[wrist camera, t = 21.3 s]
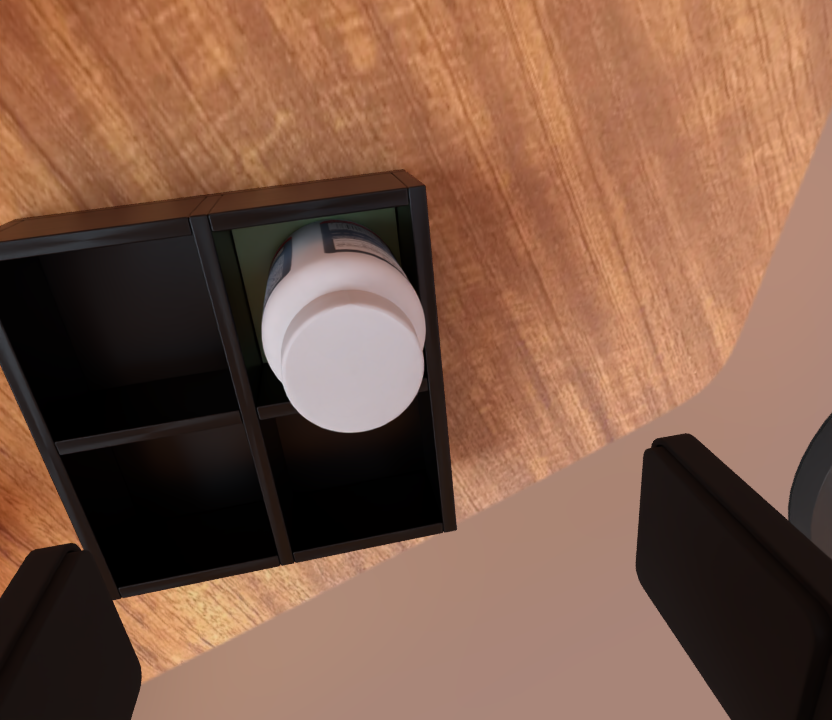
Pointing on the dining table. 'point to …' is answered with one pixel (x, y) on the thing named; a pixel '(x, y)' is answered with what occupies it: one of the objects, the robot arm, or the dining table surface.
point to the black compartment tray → (209, 386)
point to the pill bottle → (343, 327)
